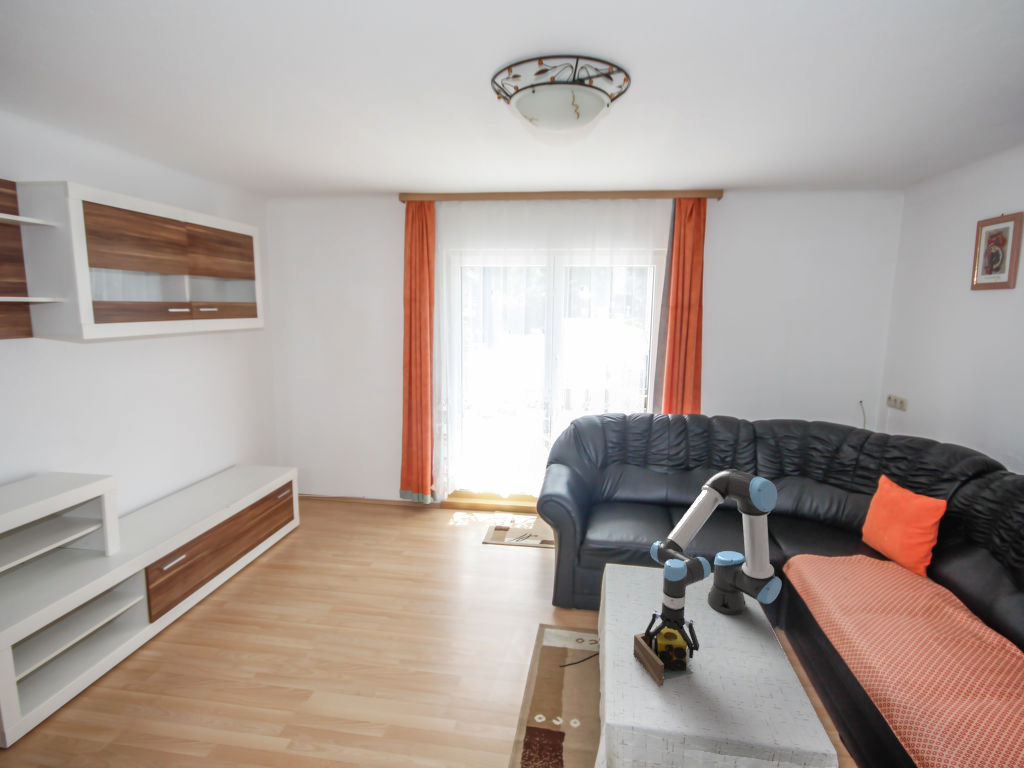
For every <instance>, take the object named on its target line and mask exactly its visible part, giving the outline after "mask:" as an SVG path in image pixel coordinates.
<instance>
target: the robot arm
mask: <svg viewBox="0 0 1024 768" xmlns="http://www.w3.org/2000/svg"><path fill="white" fill-rule="evenodd" d="M727 499H730V500H733V501H736V503H737V510H738V511H739V513H741V514H742V528H743V541H744V543H743V544H744V554H742V553H740V552H737V551H733V550H728V551H727V550H724V551H720V552H717V553H716V554H715V558H714V563H713V565H714V566H713V581H712V585H711V588H710V591H709V593H708V594H707V603H708V605H709V606H710V608H712V609H713V610H715V611H717V612H719V613H722V614H725V615H732V616H735V615H741V614H743V613H744V612H745V611H746V605H747V603H746V598H745V595H747V596H748V597H750V598H752V599H753V600H756V601H758V602H760V603H762V604H765V605H768V604H771V603H773V602H774V601H775V600H776V599H777V597H778V595H779V594H780V592H781V589H782V584H783V583H782V580H781V579H780V578H779V576H775V568H774V566H773V565H772V564H770V550H769V549H770V548H769V532H768V531H769V529H768V515H769V514H771V511H772V510H773V509H774V508H775V507H776V506H777V501H778V490H777V487H776V485H775V484H774V483H773V482H772V481H771V480H769V479H766V478H764V477H762V476H757V475H754V474H751V473H748V472H744V471H741V470H739V469H736V468H730V469H723V470H721V471H719V472H717V473H715V474H714V475H713V476H711V477H710V478H709V479H707V480H706V481H705V483H704V484H703V485H702V487H701V493H700V494H698V496H697V497H696V499H695V500H694V502H693V503H692V504H691V505H690V507H689V509H687V511H686V512H685V513H684V515H683V516H682V518H680V520H679V521H678V522H677V524H676V525H675V527H674V528H673V529H672V530H671V531H670V533H669V534H668V536H667V537H666V538H665V540H664V541H661V540H657V541H656V542H654V543H653V544H652V545H651V548H650V550H649V551H650V552H649V553H650V557H651V558H652V559H653V560H654V561H655V562H657V563H658V564H660V565H662V566H664V568H663V573H662V574H663V583H662V599H661V600H662V602H661V612H658V611H657V610H653V612H652V617H651V620H650V622H649V624H648V625H647V627H646V629H645V632H644V633H645V636H648V637H649V638H650V641H649V645H650V646H651V647H652V651H653V652H654V653H655V650H656V635H657V634H658V633H659V632H660V631H661V630H662V629H664V628H665V627H667V628H669V629H673V630H677V631H678V632H679V634H680V635H681V636H682V638H683V640H684V641H685V642H686V643H687V655H686V662H687V663H686V664H687V665H686V667H689V666H690V660H691V659H693V658H694V652H695V651H696V652H698V651H699V649H700V643H699V640H698V638H697V634H696V631H695V629H694V621H693V620H692V619H691V620H686V619H685V604H686V591H687V589H686V588H687V587H688V586H690V585H693V584H696V583H698V582H701V581H703V580H704V579H706V578H708V577H710V575H711V573H712V570H711V569H712V567H711V564H710V563H709V561H708V560H707V558H705V557H702V556H696V557H691V556H689V555H687V554H686V553H684V551H685V550H686V548H687V547H688V546H689V544H690V543H692V542H691V541H693V539H694V538H695V536H696V535H698V532H699V531H700V530H701V528H703V525H705V523H706V521H707V520H708V519H709V518H710V517H711V515H712V514H713V512H715V510H716V508H717V507H718V505H720V504H723V503H724V502H725V501H726V500H727ZM744 594H745V595H744ZM659 618H660V620H661V622H660V623H659V625H657V627H656V626H655V628H654V629H653V630H652V628H653V627H654V624H655V623H656V620H658V619H659ZM684 625H685V626H686V628H687V629H688V633H689V634H688V633H687V632H686V630H685V627H684ZM651 630H652V632H650V631H651ZM655 654H656V653H655Z"/></svg>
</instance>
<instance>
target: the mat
mask: <svg viewBox="0 0 1024 768" xmlns="http://www.w3.org/2000/svg"><path fill="white" fill-rule="evenodd" d="M693 673H694V672H693V670H692V669H691V668H689V667H686V671H679V670H671V669H664V675H663V679H665V680H670V679H673V678H677V677H681V676H684V675H688V674H689V675H690V674H693Z"/></svg>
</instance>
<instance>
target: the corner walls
mask: <svg viewBox="0 0 1024 768" xmlns="http://www.w3.org/2000/svg"><path fill="white" fill-rule="evenodd" d="M652 631H653V630H652ZM652 631H651V630H650V632H652ZM649 641H650V638H649V637H648V636H645V632H642V633H637V634H634V636H633V652H632V653H633V656H634V657H635V659H636V660H637V661H638V663H640V665H641V666H642V667H643V668H644V670H645V671H646V672H647V673H648V675H649V676H650V677H651V678H652V680H653V681H654V682H655V683H656V684H657V686H658V687H663V686H664V677H663V675H664V664H663V663H662V661H661V660H660V659H659V658H658V657H657V656H656V651H655V653H654V652H653V651H652V647H651V646H650V645H649Z"/></svg>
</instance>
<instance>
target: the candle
mask: <svg viewBox="0 0 1024 768" xmlns="http://www.w3.org/2000/svg"><path fill="white" fill-rule="evenodd" d="M656 627H658V625H657V626H655V628H656ZM687 648H688V646H687V643H686V642H685V641H684V640H683V638H682V636H681V635H680V634H679V632H678V631H677V630H673V629H669V628H667V627H665V628H664V629H662V630H661V631H660V632H659V633H658V634H657V635H656V650H655V651H656V653H655V655H656V656H657V657H658V658H659V659H660V660H661V661H662V663H663V664H664V669H671V670H679V671H686V665H687V664H686V663H687V662H686V659H687Z"/></svg>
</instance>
